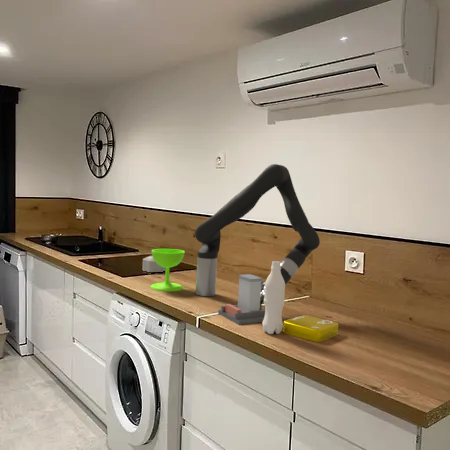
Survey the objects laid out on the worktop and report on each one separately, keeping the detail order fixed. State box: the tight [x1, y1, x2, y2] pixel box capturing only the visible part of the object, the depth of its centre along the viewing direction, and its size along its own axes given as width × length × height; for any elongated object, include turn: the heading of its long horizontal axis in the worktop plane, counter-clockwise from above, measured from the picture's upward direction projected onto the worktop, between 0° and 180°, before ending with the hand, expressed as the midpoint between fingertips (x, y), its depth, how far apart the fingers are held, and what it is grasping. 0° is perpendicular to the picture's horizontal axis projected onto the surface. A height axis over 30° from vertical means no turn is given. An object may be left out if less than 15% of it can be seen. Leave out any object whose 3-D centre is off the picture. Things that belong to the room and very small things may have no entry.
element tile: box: [282, 314, 339, 343], centre depth 168 cm, size 15×15×5 cm
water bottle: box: [261, 260, 286, 335], centre depth 166 cm, size 7×7×25 cm
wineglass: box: [149, 248, 186, 292], centre depth 230 cm, size 16×16×18 cm
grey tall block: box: [237, 273, 263, 312], centre depth 185 cm, size 8×5×14 cm, turn 29°
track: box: [217, 303, 265, 326], centre depth 185 cm, size 16×18×4 cm
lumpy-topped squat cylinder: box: [142, 255, 166, 273], centre depth 273 cm, size 10×13×9 cm
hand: (257, 303), depth 187 cm, fingers closed
